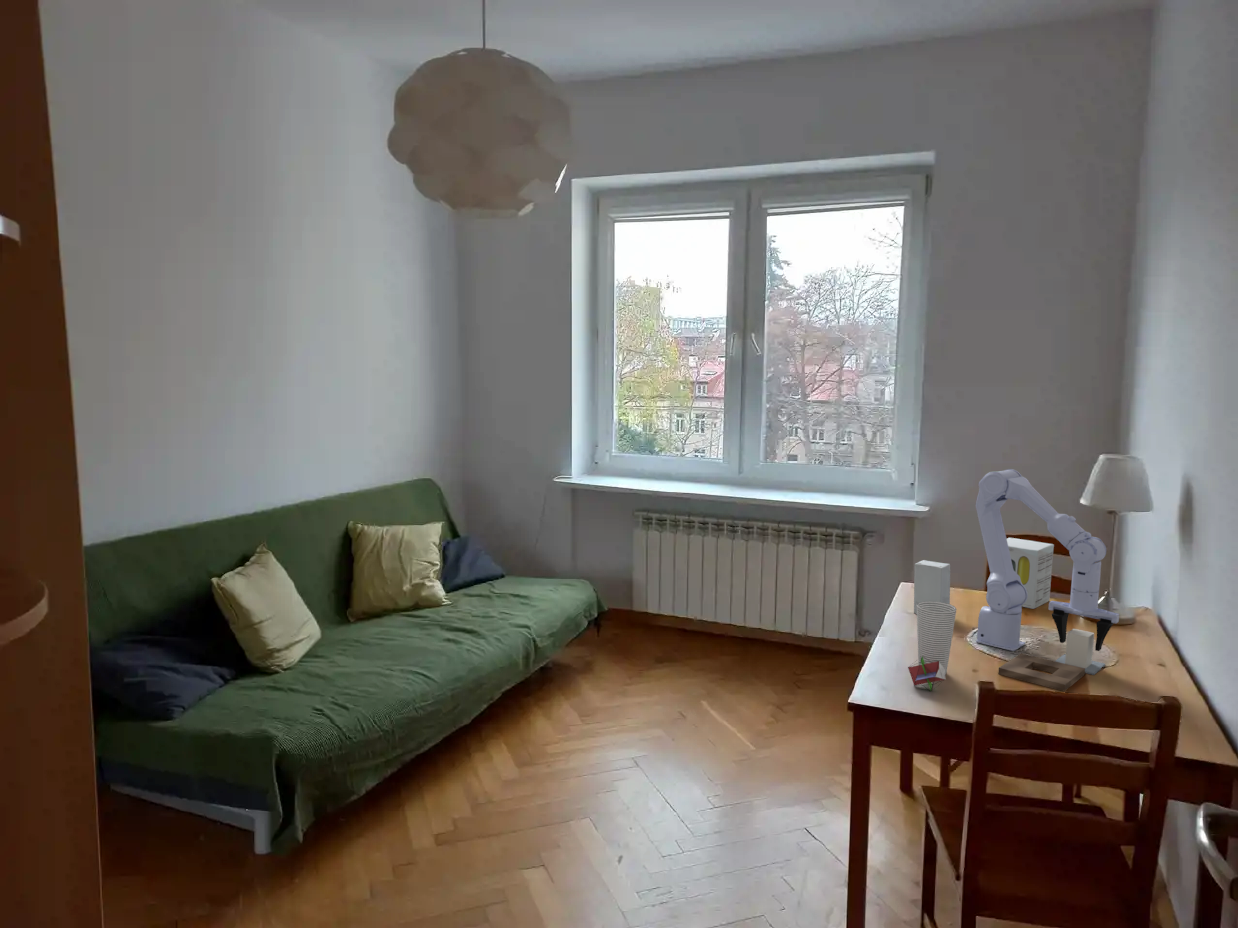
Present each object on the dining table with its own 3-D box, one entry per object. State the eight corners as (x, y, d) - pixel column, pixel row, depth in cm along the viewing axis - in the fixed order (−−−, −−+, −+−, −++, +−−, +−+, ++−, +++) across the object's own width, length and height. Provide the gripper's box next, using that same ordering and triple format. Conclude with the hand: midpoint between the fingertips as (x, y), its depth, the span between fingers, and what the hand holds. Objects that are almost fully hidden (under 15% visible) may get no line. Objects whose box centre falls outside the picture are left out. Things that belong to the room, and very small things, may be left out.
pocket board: (998, 673, 193) (998, 667, 193) (1020, 659, 203) (1021, 653, 203) (1064, 691, 183) (1065, 684, 183) (1084, 674, 193) (1085, 668, 193)
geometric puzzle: (899, 679, 183) (924, 654, 180) (902, 668, 189) (926, 644, 187) (926, 702, 181) (952, 678, 179) (928, 691, 188) (953, 667, 185)
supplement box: (987, 599, 254) (991, 542, 252) (1005, 591, 263) (1009, 536, 261) (1034, 609, 244) (1038, 550, 242) (1050, 600, 254) (1054, 543, 252)
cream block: (1064, 663, 199) (1067, 632, 198) (1070, 658, 203) (1073, 628, 202) (1085, 668, 196) (1088, 637, 195) (1091, 663, 200) (1094, 632, 199)
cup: (931, 681, 188) (935, 613, 186) (904, 668, 196) (908, 603, 194) (960, 675, 191) (965, 609, 190) (933, 663, 199) (936, 599, 197)
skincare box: (949, 615, 237) (953, 564, 235) (939, 620, 233) (943, 567, 231) (921, 609, 243) (924, 558, 241) (911, 613, 239) (914, 561, 237)
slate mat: (1051, 664, 200) (1051, 662, 200) (1064, 655, 206) (1064, 653, 206) (1093, 674, 193) (1093, 673, 193) (1105, 665, 200) (1105, 663, 200)
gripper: (1046, 586, 200) (1041, 641, 201) (1114, 599, 189) (1109, 657, 191) (1056, 581, 205) (1051, 635, 206) (1123, 593, 194) (1118, 650, 196)
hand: (1080, 645), depth 199 cm, fingers open, 7 cm apart
